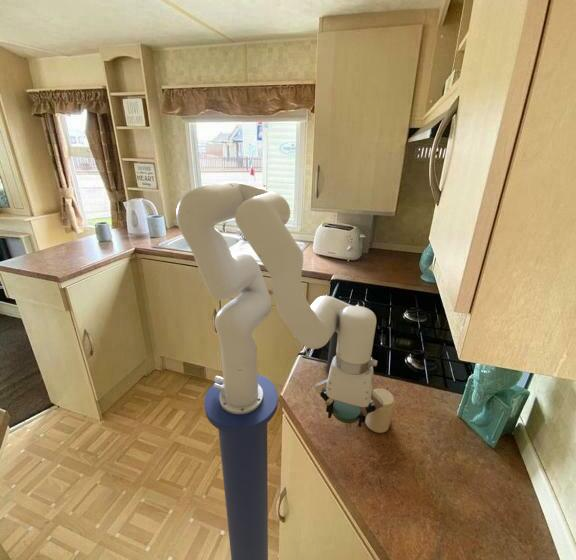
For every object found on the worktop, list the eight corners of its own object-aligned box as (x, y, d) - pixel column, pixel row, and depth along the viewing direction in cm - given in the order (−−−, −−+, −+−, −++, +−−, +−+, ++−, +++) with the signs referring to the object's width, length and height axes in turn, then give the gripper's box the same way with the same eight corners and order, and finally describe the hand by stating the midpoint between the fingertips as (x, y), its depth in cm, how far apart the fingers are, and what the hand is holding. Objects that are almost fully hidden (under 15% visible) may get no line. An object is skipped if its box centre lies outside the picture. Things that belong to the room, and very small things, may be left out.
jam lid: (366, 417, 75) (366, 412, 74) (343, 427, 72) (343, 423, 71) (348, 397, 80) (349, 393, 79) (326, 407, 77) (327, 402, 76)
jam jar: (364, 429, 80) (369, 402, 76) (365, 410, 85) (369, 384, 81) (389, 435, 78) (395, 408, 74) (389, 416, 84) (394, 390, 80)
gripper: (394, 358, 70) (383, 416, 77) (318, 342, 75) (315, 397, 83) (392, 381, 63) (380, 442, 71) (310, 361, 69) (306, 419, 76)
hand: (345, 417), depth 77 cm, fingers closed on jam lid, 6 cm apart
